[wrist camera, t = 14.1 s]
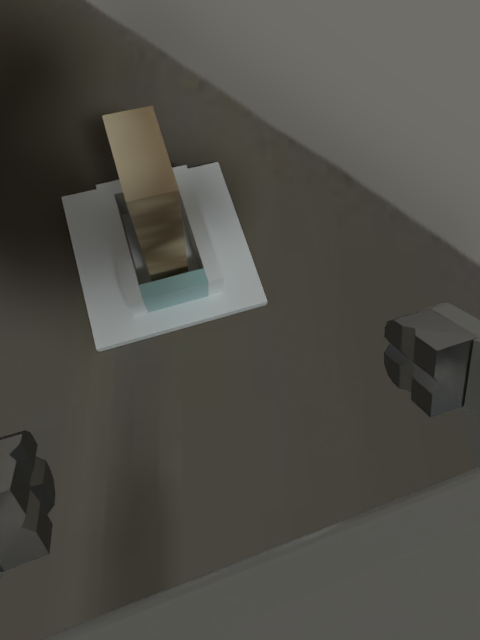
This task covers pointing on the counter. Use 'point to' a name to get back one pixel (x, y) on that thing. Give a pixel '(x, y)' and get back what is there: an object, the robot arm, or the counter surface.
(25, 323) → the counter surface
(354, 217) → the counter surface
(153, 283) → the white square socket base
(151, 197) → the wooden block
